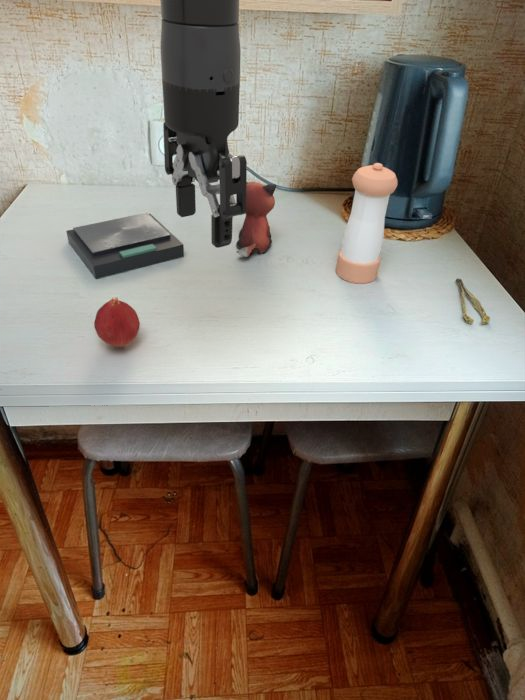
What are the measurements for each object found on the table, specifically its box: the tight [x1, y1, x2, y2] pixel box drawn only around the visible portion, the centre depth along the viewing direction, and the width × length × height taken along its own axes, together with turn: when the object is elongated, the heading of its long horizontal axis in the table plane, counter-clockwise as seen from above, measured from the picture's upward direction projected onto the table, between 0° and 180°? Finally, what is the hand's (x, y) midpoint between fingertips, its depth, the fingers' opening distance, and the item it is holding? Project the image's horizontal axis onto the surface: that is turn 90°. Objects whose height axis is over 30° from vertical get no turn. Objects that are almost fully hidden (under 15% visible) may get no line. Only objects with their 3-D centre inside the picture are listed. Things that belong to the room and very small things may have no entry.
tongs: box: [455, 277, 491, 326], centre depth 84 cm, size 4×13×2 cm, turn 2°
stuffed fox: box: [235, 181, 277, 258], centre depth 90 cm, size 8×11×12 cm
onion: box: [93, 296, 141, 348], centre depth 68 cm, size 6×6×8 cm
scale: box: [66, 212, 185, 280], centre depth 90 cm, size 16×14×3 cm
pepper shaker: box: [335, 162, 399, 284], centre depth 84 cm, size 7×7×19 cm
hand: (203, 229), depth 60 cm, fingers open, 8 cm apart
